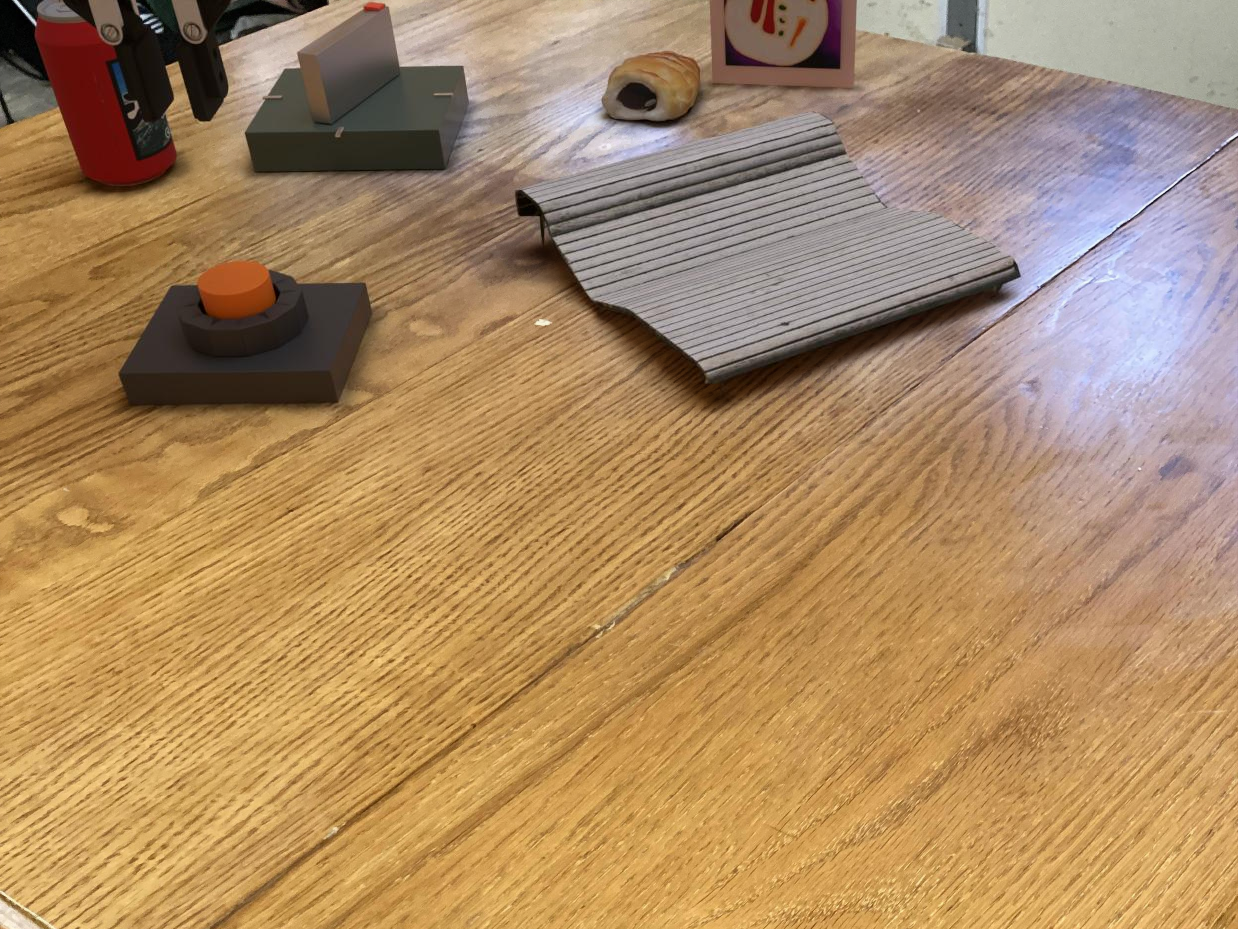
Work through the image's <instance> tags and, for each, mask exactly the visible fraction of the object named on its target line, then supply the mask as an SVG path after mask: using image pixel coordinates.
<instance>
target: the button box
mask: <svg viewBox="0 0 1238 929" xmlns="http://www.w3.org/2000/svg"><path fill="white" fill-rule="evenodd" d="M268 271H269V274H270V277H271V281H272V285H273V289H274V292H275V296H276V302H275V304H274V305H272V306H271V307H269V308H268V309H266V310H264V311H263V312H261V313H258V314H255V315H251V316H247V317H244V318H240V319H217V318H214V317H211V316H208V315H207V313H206V311H205V308H204V305H203V302H202V299H201V295H200V292H199V289H198V286H197V284H176V285H175V284H174V285H170V286H169V288H168V290H167V292H166V293H165V295H164V297H163V299H162V300H161V302H160V303H159V305H158V306H157V308H156V310H155V311H154V313H153V315H152V316H151V317H150V320H149V322H148V323H147V325H146V326H145V328H144V330H143V332H142V333H141V335H140V336H139V338H138V340H137V341H136V343H135V345H134V347H133V348H132V350H131V352H130V353H129V355H128V356H127V358H126V359H125V361H124V363H123V365H122V366H121V367H120V370H119V371H118V374H117V375H118V377H119V380H120V383H121V384H122V385H121V386H122V389H123V391H124V393H125V396H126V399H127V402H128V405H129V406H188V405H189V406H190V405H191V406H192V405H193V406H194V405H196V406H197V405H201V406H203V405H264V404H266V405H268V404H270V405H271V404H275V405H276V404H336V403H339V402H340V400H341V396H342V394H343V392H344V388H345V386H346V384H347V381H348V379H349V376H350V373H351V371H352V368H353V365H354V364H355V363H354V362H355V361H356V357H357V355H358V352H359V350H360V347H361V345H362V343H363V342H362V341H363V340H364V337H365V334H366V331H367V329H368V326H369V324H370V321H371V318H372V316H373V310H372V307H371V306H372V305H371V301H370V296H369V292H368V287H367V283H366V282H326V283H325V282H317V283H316V282H311V283H310V282H307V283H303V282H302V283H298V281H297V280H295V278H294V277H293V276H292V275H288V274H286V273H282V272H279V271H276V270H273V269H268Z"/></svg>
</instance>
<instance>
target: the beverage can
mask: <svg viewBox="0 0 1238 929" xmlns="http://www.w3.org/2000/svg"><path fill="white" fill-rule="evenodd" d="M36 11H37V12H36V13H37V19H36V25H35V29H34V39H35V42H36V45H37V47H38V50H39V53H40V57H41V59H42V63H43V65H44V69H45V71H46V75H47V77H48V80H49V82H50V86H51V89H52V92H53V94H54V98H55V100H56V104H57V106H58V109H59V111H60V115H61V117H62V120H63V123H64V126H65V128H66V131H67V134H68V137H69V140H70V142H71V145H72V149H73V151H74V153H75V156H76V159H77V162H78V164H79V165H78V166H79V167H80V170H81V172H82V174H83V175H84V176H85V177H87V178H89V179H91V180H93V181H95V182H100V183H102V184H104V185H106V186H107V185H108V186H112V187H130V186H132V187H133V186H138V185H142V184H146V183H149V182H152V181H154V180H155V179H158V178H159V177H161V176H162V175H164V174H165V172H166V171H167V170H168V169H169V168H170V167H171V166H172V165H173V164H174V163H175V161H176V159H177V157H178V154H177V149H176V146H175V142H174V139H173V136H172V132H171V128H170V123H169V121H168V116H167V114H166V112H165V113H164V114H163V116H162V117H161V118H160V119H159V120H158V121H157V122H149V123H146V122H144V120H143V118H142V115H141V112H140V109H139V105H138V102H137V100H132V99H131V98H130V96H129V94H128V92H127V88H126V85H125V82H124V79H123V76H122V72H121V69H120V66H119V63H118V60H117V56H116V53H115V50H114V47H113V45H109V44H107V43H105V42H104V41H103V40H102V39H101V38H100V36H99V34H98V31H97V29H96V28H95V27H93V26H92V25H91V24H89V23H88V22H87V21H85V20H84V19H83V18H81V17H80V16H79V15H77V14H76V13H75V12H74V11H72V10H71V9H70V8H68V7H67V6H66V5H65V4H64V3H62V2H59V3H58V2H55V1H52V0H42V1H41V2H39V3H38V5H37V7H36Z"/></svg>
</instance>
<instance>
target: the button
mask: <svg viewBox="0 0 1238 929" xmlns="http://www.w3.org/2000/svg"><path fill="white" fill-rule="evenodd" d="M268 270H269V269H268V268H267V266H265V265H264V264H262V263H260V262H257V261H252V260H235V261H228V262H223V263H221V264H217V265H214V266H212V267H210V268H208V269H206V270H205V271H204V272H202V273H201V275H199V277H198V278H197V281H196V282H197V283H196V285H197V286H198V289H199V292H200V295H201V299H202V302H203V305H204V308H205V311H206V313H207V315H208V316H211V317H214V318H217V319H240V318H244V317H247V316H251V315H255V314H258V313H261V312H263V311H264V310H266V309H268V308H269V307H271V306H272V305H274V304H275V302H276V296H275V292H274V289H273V285H272V281H271V277H270V274H269V271H268Z"/></svg>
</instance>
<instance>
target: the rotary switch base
mask: <svg viewBox="0 0 1238 929" xmlns="http://www.w3.org/2000/svg"><path fill="white" fill-rule="evenodd" d="M400 71H401V73H400V74H399V75H397V76H396V77H395V78H393V79H392V80H391V81H389V82H388V83H386V84H385V85H384V86H382V87H381V88H380V89H378V90H377V91H376V92H374V93H373V94H372V95H370V96H369V97H367V98H366V99H365V100H363V101H362V102H361V103H359V104H358V105H357V106H355V107H354V108H353V109H351V110H350V111H348V112H347V113H346V114H344V115H343V116H342V117H340V118H339V119H338V120H336V121H335V122H334V123H332V124H327V123H320V122H313V121H312V116H311V112H310V108H309V103H308V99H307V94H306V90H305V86H304V81H303V77H302V73H301V68H300V67H292V68H291V67H290V68H288V67H287V68H284V69H283V70H282V72H281V73H280V75H279V77H278V79H277V80H276V81H275V83H274V84H273V86H272V88H271V89H270V91H269V92H268V94H267V95H263V96H262V101H263V100H264V101H263V102H262V104H260V107H259V109H258V110H257V112H256V114H255V115H254V116H253V118H252V120H251V121H250V123H249V125H248V126H247V128H246V130H245V131H244V137H245V140H246V144H247V148H248V152H249V156H250V159H251V164H252V166H253V171H254V172H255V173H260V172H266V173H268V172H321V171H324V172H325V171H326V172H327V171H328V172H329V171H330V172H331V171H332V172H333V171H385V170H386V171H388V170H390V171H391V170H392V171H394V170H395V171H396V170H444V169H446V167H447V164H448V162H449V159H450V156H451V153H452V151H453V148H454V145H455V143H456V139H457V138H458V134H459V131H460V129H461V126H462V123H463V120H464V117H465V115H466V112H467V109H468V107H469V105H470V101H469V100H470V99H469V93H468V86H467V79H466V72H465V68H464V65H417V66H416V65H414V66H413V65H412V66H411V65H408V66H400Z"/></svg>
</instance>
